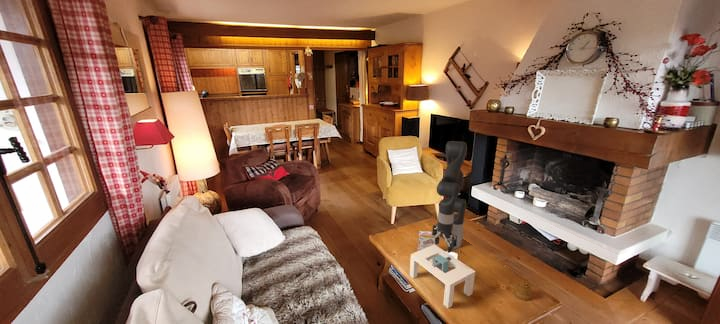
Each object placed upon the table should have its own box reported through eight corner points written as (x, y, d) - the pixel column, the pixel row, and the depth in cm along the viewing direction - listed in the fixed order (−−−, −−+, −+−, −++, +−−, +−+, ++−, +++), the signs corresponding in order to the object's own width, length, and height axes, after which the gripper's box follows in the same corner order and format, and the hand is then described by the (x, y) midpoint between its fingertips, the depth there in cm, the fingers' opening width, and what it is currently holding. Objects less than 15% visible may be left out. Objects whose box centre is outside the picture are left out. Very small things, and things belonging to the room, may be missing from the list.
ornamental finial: (533, 299, 145) (522, 302, 143) (522, 289, 151) (510, 292, 149) (536, 286, 142) (524, 289, 140) (524, 276, 149) (512, 279, 147)
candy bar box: (418, 258, 177) (419, 234, 172) (417, 253, 182) (418, 230, 177) (436, 259, 176) (438, 235, 171) (435, 254, 181) (437, 231, 176)
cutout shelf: (432, 264, 171) (434, 242, 166) (472, 294, 148) (475, 269, 144) (409, 275, 162) (410, 252, 157) (447, 308, 139) (450, 282, 135)
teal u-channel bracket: (439, 269, 156) (439, 254, 154) (448, 275, 151) (448, 260, 149) (433, 271, 154) (434, 257, 152) (442, 278, 149) (443, 262, 147)
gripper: (462, 224, 139) (459, 252, 144) (440, 212, 151) (437, 239, 156) (451, 228, 136) (448, 257, 140) (429, 216, 147) (427, 243, 152)
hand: (443, 247), depth 148 cm, fingers open, 8 cm apart
